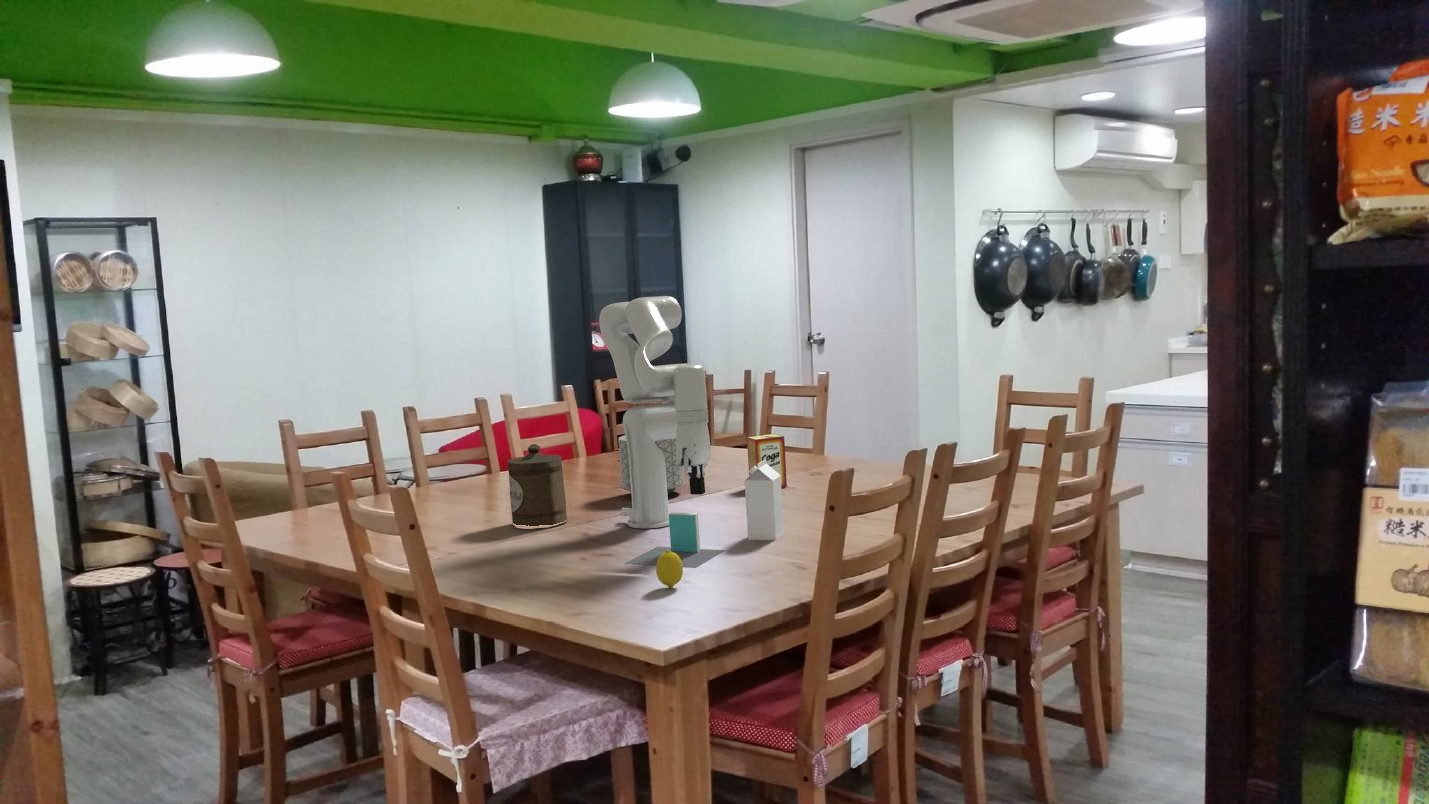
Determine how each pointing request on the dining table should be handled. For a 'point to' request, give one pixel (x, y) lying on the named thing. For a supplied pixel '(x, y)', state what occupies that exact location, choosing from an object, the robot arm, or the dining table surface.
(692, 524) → the tile
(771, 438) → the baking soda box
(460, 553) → the dining table surface
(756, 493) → the milk carton
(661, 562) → the lemon
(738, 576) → the dining table surface
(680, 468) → the planter
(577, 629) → the dining table surface
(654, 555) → the mat
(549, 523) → the wooden container
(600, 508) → the dining table surface
